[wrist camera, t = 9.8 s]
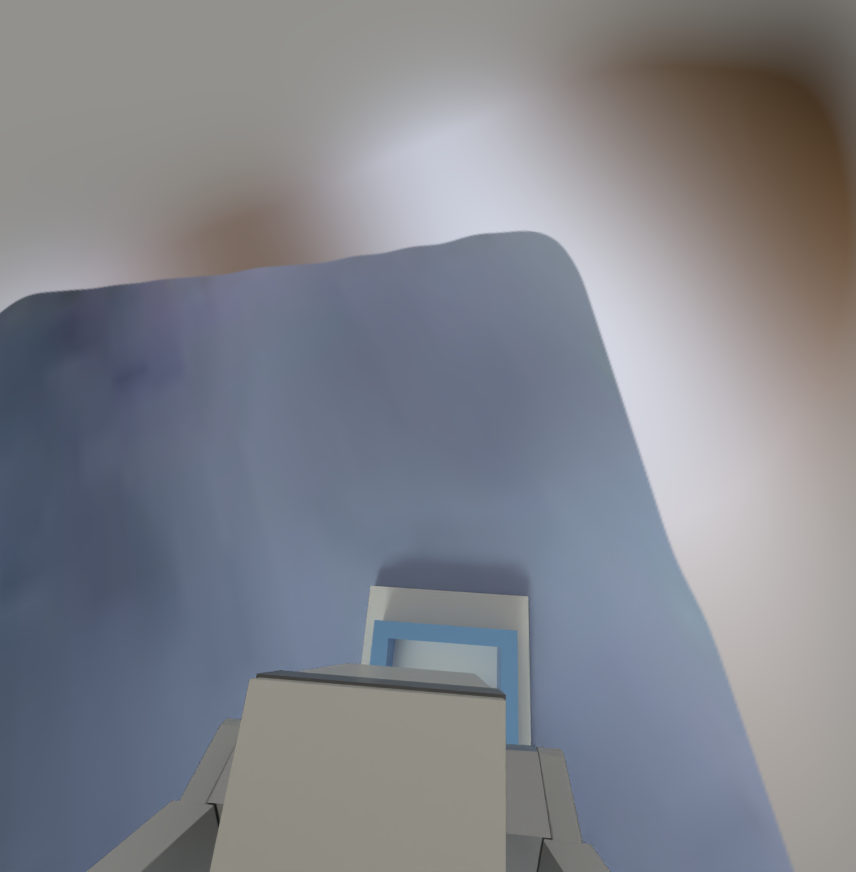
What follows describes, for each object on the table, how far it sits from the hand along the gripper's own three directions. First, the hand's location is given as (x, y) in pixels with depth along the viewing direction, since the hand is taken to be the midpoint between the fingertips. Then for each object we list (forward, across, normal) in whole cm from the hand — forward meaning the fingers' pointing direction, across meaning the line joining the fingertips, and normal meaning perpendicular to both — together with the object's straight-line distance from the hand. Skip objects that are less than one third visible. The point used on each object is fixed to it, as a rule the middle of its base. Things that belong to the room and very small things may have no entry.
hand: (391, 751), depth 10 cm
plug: (+3, 0, +4) cm, 4 cm away
